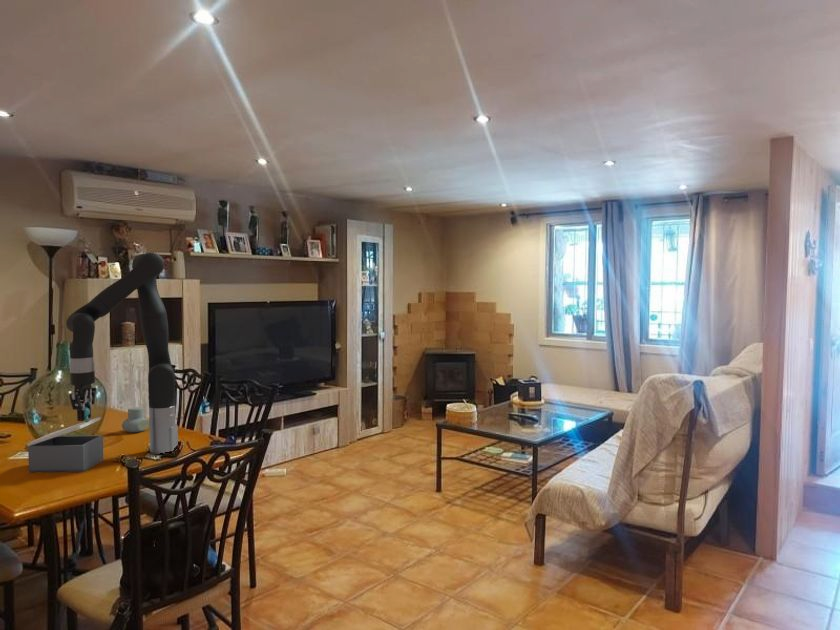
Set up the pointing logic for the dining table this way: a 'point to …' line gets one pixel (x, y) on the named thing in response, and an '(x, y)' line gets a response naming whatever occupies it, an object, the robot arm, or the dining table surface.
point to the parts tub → (66, 454)
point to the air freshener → (135, 420)
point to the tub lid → (67, 429)
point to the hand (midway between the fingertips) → (84, 419)
